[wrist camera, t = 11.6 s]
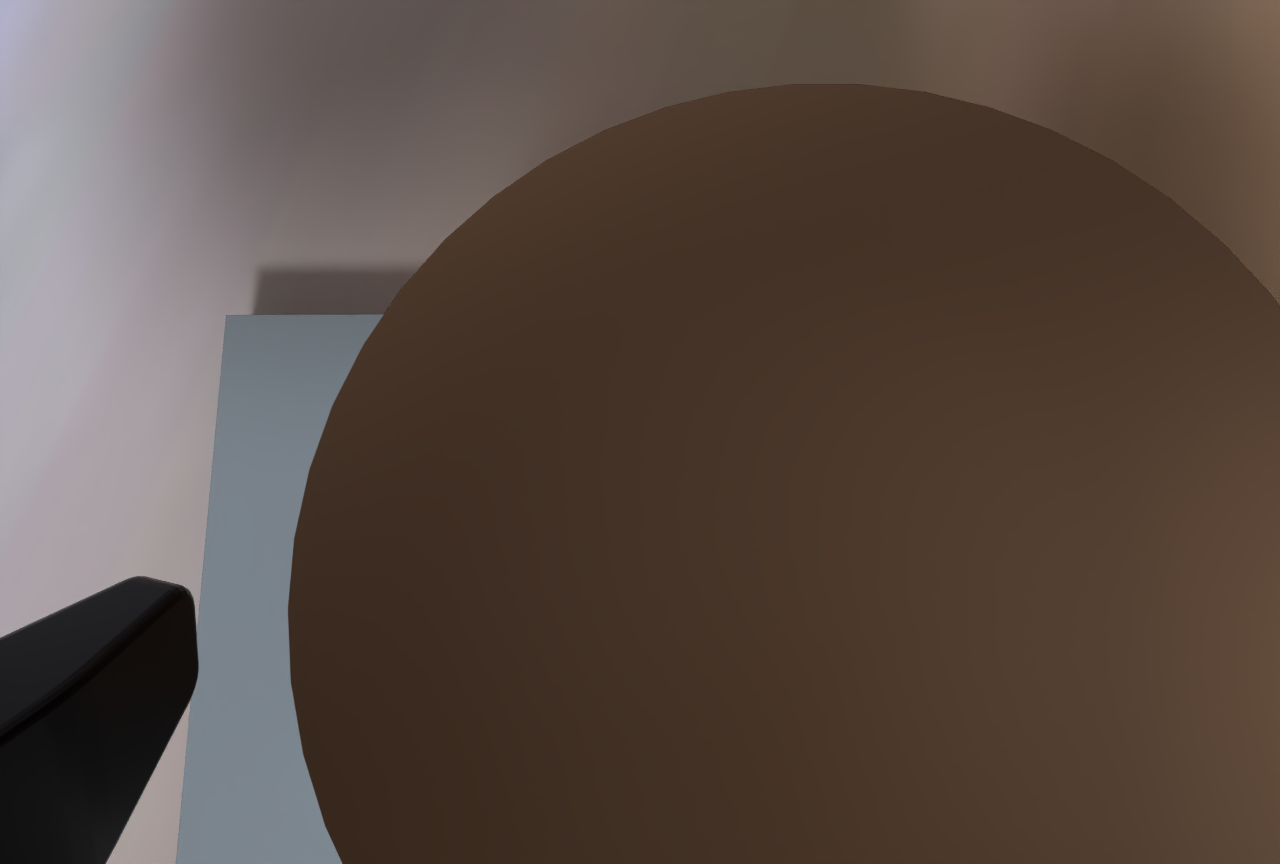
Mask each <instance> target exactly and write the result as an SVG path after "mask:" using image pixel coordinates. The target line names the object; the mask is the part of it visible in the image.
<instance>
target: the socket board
mask: <svg viewBox="0 0 1280 864" xmlns="http://www.w3.org/2000/svg"><path fill="white" fill-rule="evenodd" d="M383 315H384V314H361V315H226V321H225V332H224V343H223V354H222V365H221V376H220V386H219V397H218V408H217V419H216V430H215V441H214V452H213V463H212V474H211V485H210V496H209V506H208V517H207V528H206V539H205V550H204V561H203V572H202V583H201V594H200V605H199V616H198V626H197V645H198V659H199V672H198V679H197V683H196V687H195V690H194V692H193V695H192V697H191V703H190V714H189V725H188V736H187V747H186V757H185V768H184V779H183V790H182V801H181V812H180V823H179V834H178V845H177V856H176V864H342V862H341V860H340V857H339V855H338V853H337V851H336V849H335V847H334V844H333V842H332V840H331V838H330V836H329V833H328V831H327V829H326V827H325V824H324V821H323V817H322V814H321V811H320V808H319V804H318V801H317V798H316V795H315V791H314V788H313V785H312V782H311V778H310V775H309V772H308V769H307V766H306V762H305V759H304V756H303V751H302V745H301V739H300V733H299V728H298V722H297V716H296V710H295V704H294V698H293V692H292V687H291V678H290V652H289V627H288V601H289V590H290V579H291V567H292V556H293V545H294V536H295V532H296V527H297V523H298V518H299V514H300V509H301V505H302V500H303V496H304V491H305V487H306V482H307V478H308V473H309V469H310V466H311V463H312V461H313V458H314V455H315V452H316V450H317V447H318V444H319V441H320V438H321V436H322V433H323V430H324V427H325V424H326V422H327V419H328V416H329V413H330V411H331V408H332V405H333V403H334V401H335V399H336V397H337V395H338V393H339V391H340V389H341V387H342V385H343V383H344V381H345V380H346V378H347V376H348V374H349V372H350V370H351V368H352V366H353V364H354V362H355V360H356V358H357V356H358V354H359V352H360V350H361V348H362V346H363V344H364V343H365V341H366V340H367V339H368V337H369V336H370V334H371V333H372V331H373V330H374V328H375V327H376V325H377V324H378V322H379V321H380V319H381V318H382V316H383Z"/></svg>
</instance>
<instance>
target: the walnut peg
mask: <svg viewBox="0 0 1280 864" xmlns="http://www.w3.org/2000/svg"><path fill="white" fill-rule="evenodd" d="M288 627H289V652H290V678H291V687H292V692H293V698H294V704H295V710H296V716H297V722H298V728H299V733H300V739H301V745H302V751H303V756H304V759H305V762H306V766H307V769H308V772H309V775H310V778H311V782H312V785H313V788H314V791H315V795H316V798H317V801H318V804H319V808H320V811H321V814H322V817H323V821H324V824H325V827H326V829H327V831H328V833H329V836H330V838H331V840H332V842H333V844H334V847H335V849H336V851H337V853H338V855H339V857H340V860H341V862H342V864H1280V305H1279V304H1278V303H1277V301H1276V300H1275V299H1274V297H1273V296H1272V295H1271V293H1270V292H1269V291H1268V290H1267V289H1266V288H1265V287H1264V286H1263V285H1262V284H1261V283H1260V282H1259V281H1258V280H1257V279H1256V277H1255V276H1254V275H1253V274H1252V273H1251V272H1250V271H1249V270H1248V269H1247V268H1246V267H1245V266H1244V265H1243V264H1242V263H1241V261H1240V260H1239V259H1238V258H1237V257H1236V256H1235V255H1234V254H1233V253H1232V252H1231V251H1230V250H1229V249H1228V248H1227V246H1226V245H1225V244H1224V243H1223V242H1221V241H1220V240H1219V239H1218V238H1217V237H1215V236H1214V235H1213V234H1212V233H1211V232H1209V231H1208V230H1207V229H1206V228H1205V227H1204V226H1202V225H1201V224H1200V223H1199V222H1198V221H1196V220H1195V219H1194V218H1193V217H1192V216H1190V215H1189V214H1188V213H1187V212H1186V211H1185V210H1183V209H1182V208H1181V207H1180V206H1179V205H1177V204H1176V203H1175V202H1174V201H1173V200H1171V199H1170V198H1169V197H1167V196H1166V195H1164V194H1163V193H1161V192H1160V191H1158V190H1157V189H1155V188H1154V187H1152V186H1150V185H1149V184H1147V183H1146V182H1144V181H1143V180H1141V179H1140V178H1138V177H1137V176H1135V175H1134V174H1132V173H1131V172H1129V171H1128V170H1126V169H1125V168H1123V167H1122V166H1120V165H1119V164H1117V163H1116V162H1114V161H1112V160H1110V159H1108V158H1106V157H1104V156H1102V155H1100V154H1098V153H1096V152H1094V151H1092V150H1090V149H1088V148H1086V147H1084V146H1082V145H1081V144H1079V143H1077V142H1075V141H1073V140H1071V139H1069V138H1067V137H1065V136H1063V135H1061V134H1059V133H1057V132H1055V131H1053V130H1050V129H1047V128H1045V127H1042V126H1039V125H1036V124H1034V123H1031V122H1028V121H1025V120H1023V119H1020V118H1017V117H1014V116H1012V115H1009V114H1006V113H1003V112H1001V111H998V110H995V109H992V108H990V107H986V106H981V105H977V104H973V103H969V102H965V101H960V100H956V99H952V98H948V97H944V96H939V95H935V94H931V93H927V92H921V91H912V90H903V89H895V88H886V87H878V86H869V85H860V84H792V85H784V86H775V87H767V88H759V89H750V90H742V91H734V92H727V93H723V94H719V95H715V96H710V97H706V98H702V99H698V100H694V101H690V102H686V103H682V104H677V105H673V106H669V107H665V108H662V109H660V110H657V111H654V112H652V113H649V114H646V115H644V116H641V117H638V118H636V119H633V120H630V121H628V122H625V123H622V124H620V125H617V126H614V127H612V128H609V129H606V130H604V131H602V132H600V133H598V134H596V135H594V136H592V137H590V138H589V139H587V140H585V141H583V142H581V143H579V144H577V145H575V146H573V147H571V148H569V149H567V150H565V151H563V152H562V153H560V154H558V155H556V156H554V157H552V158H550V159H548V160H546V161H545V162H543V163H542V164H541V165H539V166H538V167H536V168H535V169H533V170H532V171H530V172H529V173H527V174H526V175H525V176H523V177H522V178H520V179H519V180H517V181H516V182H514V183H513V184H511V185H510V186H508V187H507V188H506V189H504V190H503V191H501V192H500V193H498V194H497V195H495V196H494V197H493V198H492V199H490V200H489V201H488V202H487V203H486V204H485V205H484V206H482V207H481V208H480V209H479V210H478V211H477V212H476V213H475V214H473V215H472V216H471V217H470V218H469V219H468V220H467V221H465V222H464V223H463V224H462V225H461V226H460V227H459V228H458V229H456V230H455V231H454V232H453V233H452V234H451V235H450V236H449V237H447V238H446V239H445V240H444V241H443V242H442V243H441V245H440V246H439V247H438V248H437V249H436V250H435V251H434V253H433V254H432V255H431V256H430V257H429V258H428V259H427V260H426V262H425V263H424V264H423V265H422V266H421V267H420V268H419V270H418V271H417V272H416V273H415V274H414V275H413V276H412V277H411V279H410V280H409V281H408V282H407V283H406V284H405V285H404V287H403V288H402V289H401V290H400V291H399V293H398V294H397V296H396V297H395V299H394V300H393V302H392V303H391V305H390V306H389V308H388V309H387V311H386V312H385V314H384V315H383V316H382V318H381V319H380V321H379V322H378V324H377V325H376V327H375V328H374V330H373V331H372V333H371V334H370V336H369V337H368V339H367V340H366V341H365V343H364V344H363V346H362V348H361V350H360V352H359V354H358V356H357V358H356V360H355V362H354V364H353V366H352V368H351V370H350V372H349V374H348V376H347V378H346V380H345V381H344V383H343V385H342V387H341V389H340V391H339V393H338V395H337V397H336V399H335V401H334V403H333V405H332V408H331V411H330V413H329V416H328V419H327V422H326V424H325V427H324V430H323V433H322V436H321V438H320V441H319V444H318V447H317V450H316V452H315V455H314V458H313V461H312V463H311V466H310V469H309V473H308V478H307V482H306V487H305V491H304V496H303V500H302V505H301V509H300V514H299V518H298V523H297V527H296V532H295V536H294V545H293V556H292V567H291V579H290V590H289V601H288Z"/></svg>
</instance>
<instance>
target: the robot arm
mask: <svg viewBox="0 0 1280 864" xmlns="http://www.w3.org/2000/svg"><path fill="white" fill-rule="evenodd" d="M198 672H199V659H198V645H197V632H196V618H195V605H194V600H193V596H192V594H191V592H190V591H189V590H188V589H187V588H185V587H183V586H182V585H178V584H174V583H170V582H166V581H162V580H158V579H153V578H149V577H145V576H136V577H132V578H129V579H126V580H124V581H122V582H119V583H117V584H115V585H113V586H111V587H109V588H107V589H104V590H102V591H100V592H98V593H96V594H94V595H91V596H89V597H87V598H85V599H83V600H81V601H78V602H76V603H74V604H72V605H70V606H68V607H66V608H63V609H61V610H59V611H57V612H55V613H53V614H50V615H48V616H46V617H44V618H42V619H40V620H37V621H35V622H33V623H31V624H29V625H27V626H25V627H22V628H20V629H18V630H16V631H14V632H12V633H9V634H7V635H5V636H3V637H1V638H0V864H106V862H107V860H108V858H109V857H110V855H111V853H112V851H113V849H114V847H115V846H116V844H117V842H118V840H119V838H120V836H121V834H122V832H123V830H124V828H125V826H126V824H127V822H128V820H129V818H130V816H131V814H132V813H133V811H134V809H135V807H136V805H137V803H138V801H139V799H140V797H141V795H142V793H143V791H144V789H145V787H146V785H147V783H148V781H149V779H150V778H151V776H152V774H153V772H154V770H155V768H156V766H157V764H158V762H159V760H160V758H161V756H162V754H163V752H164V750H165V748H166V746H167V744H168V743H169V741H170V739H171V737H172V735H173V733H174V731H175V729H176V727H177V725H178V723H179V721H180V719H181V717H182V715H183V713H184V711H185V709H186V708H187V706H188V704H189V702H190V700H191V697H192V695H193V692H194V690H195V687H196V683H197V679H198Z"/></svg>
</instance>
